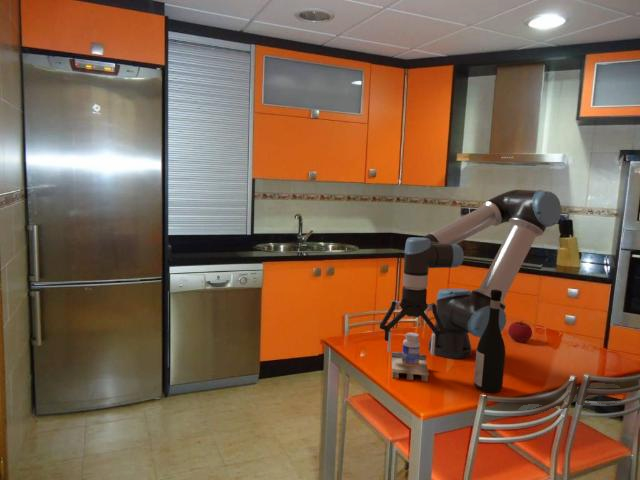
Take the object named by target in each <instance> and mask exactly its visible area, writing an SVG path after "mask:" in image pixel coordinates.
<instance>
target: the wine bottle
mask: <svg viewBox="0 0 640 480" xmlns="http://www.w3.org/2000/svg"><path fill="white" fill-rule="evenodd" d="M501 297H502V291H500V290H491V303H490V315H489V321H488V324H487V327H486V329H485V331H484V333H483V334H482V336H481V338H479V340H478V343H477V347H476V352H475V353H476V355H475V364H474V365H475V366H474V376H473V385H474V386H475V388H477V389H478V390H479V391H482V392H485V393H490V394H493V393H498V392H500V391H502V389H503V383H504V375H505V374H504V372H505V363H506V346H505V342H504V338H503V334H502V331H500V327H499V311H500V301H501Z"/></svg>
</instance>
